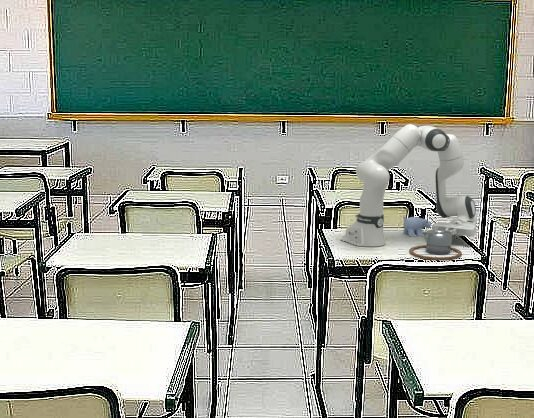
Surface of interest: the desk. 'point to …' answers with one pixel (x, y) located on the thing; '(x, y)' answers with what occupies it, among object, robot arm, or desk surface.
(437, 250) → the metal cover
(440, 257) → the locating ring
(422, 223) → the hippopotamus toy
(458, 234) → the robot arm
